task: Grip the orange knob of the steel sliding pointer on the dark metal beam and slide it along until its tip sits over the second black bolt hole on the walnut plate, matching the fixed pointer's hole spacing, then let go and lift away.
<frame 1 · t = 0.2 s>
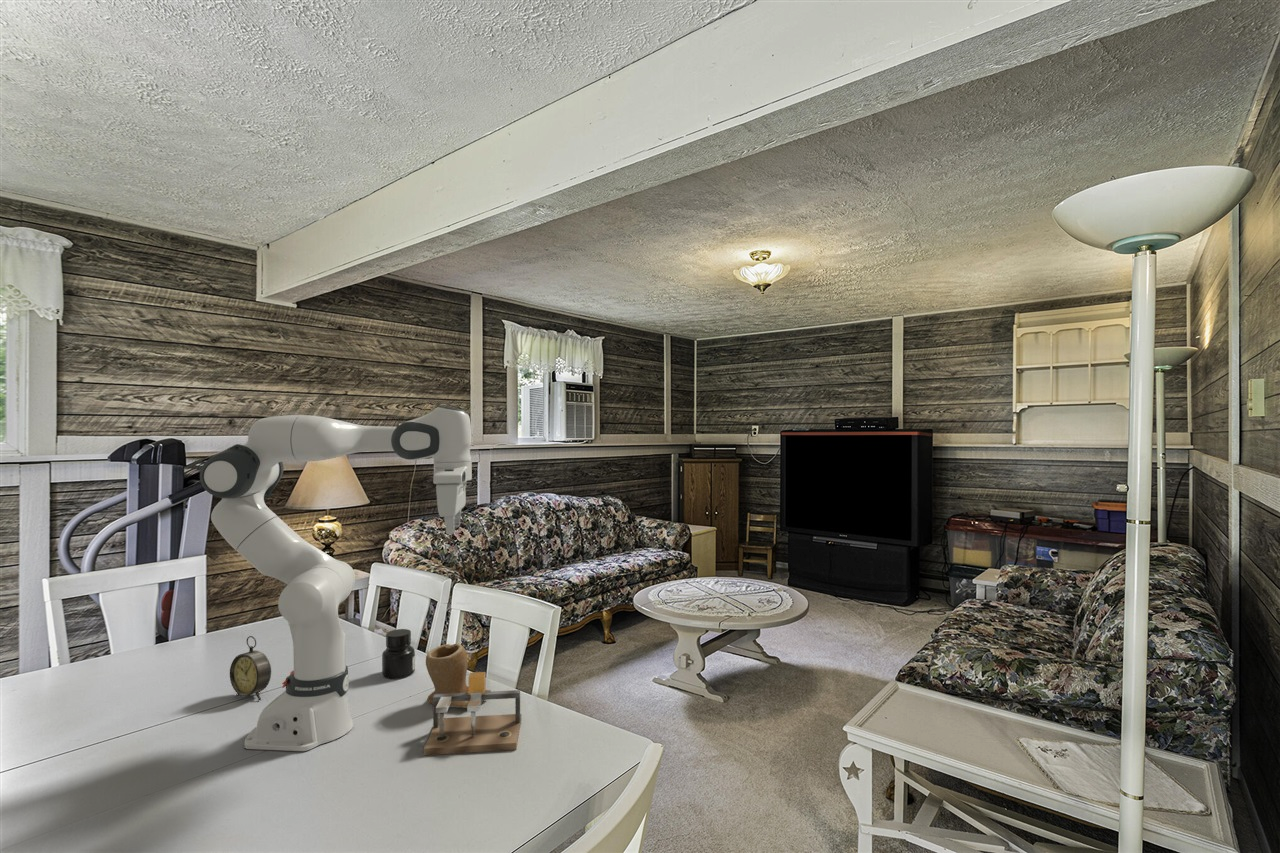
hand: (453, 530, 149), 47 cm above the table, tool pointing down, fingers open, 8 cm apart
sliding pointer: (475, 703, 144), point 8 cm above the table, slide at 0.0 cm
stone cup: (454, 704, 160), on the table
hole plate: (475, 736, 143), on the table
ink bottle: (398, 674, 180), on the table
alarm clock: (252, 697, 165), on the table
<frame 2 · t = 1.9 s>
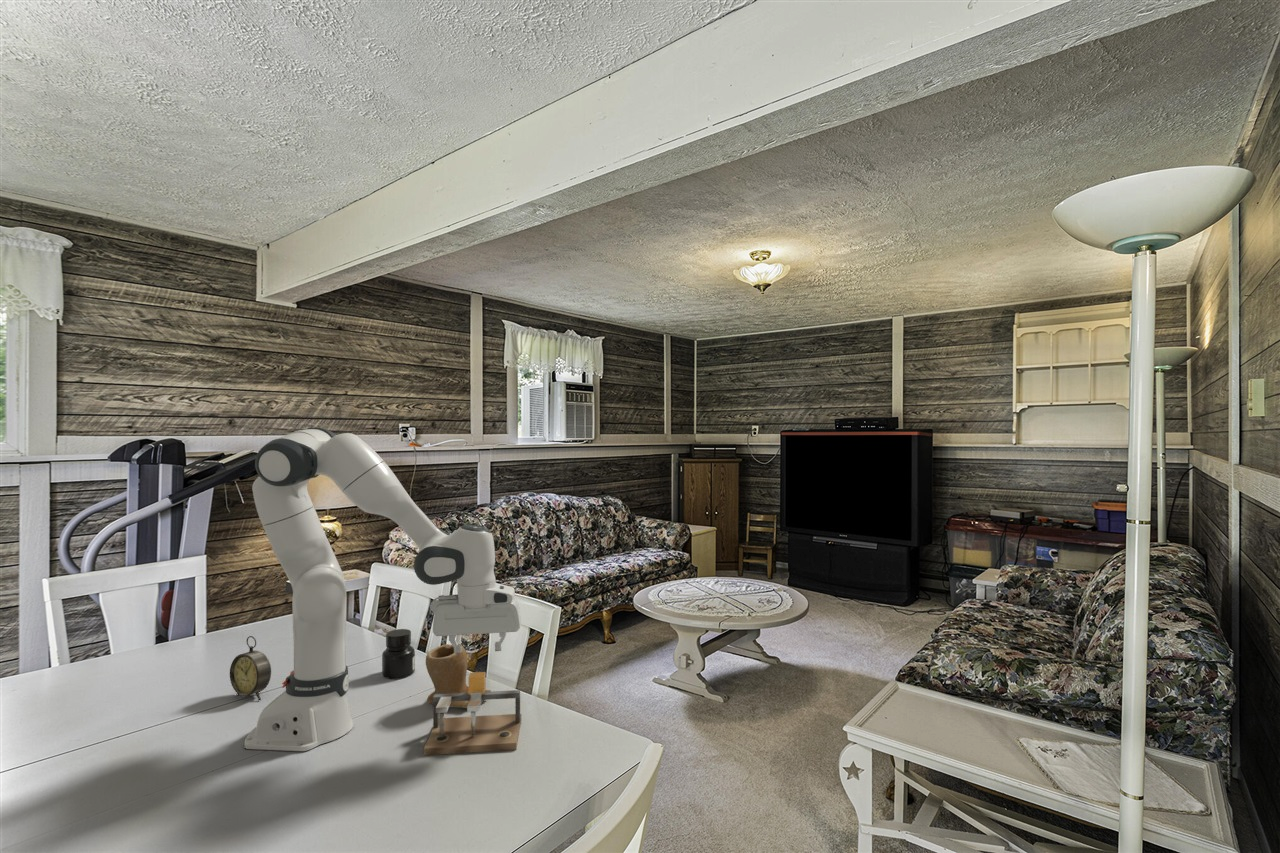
hand: (478, 651, 146), 19 cm above the table, tool pointing down, fingers open, 8 cm apart
nothing on the table moved.
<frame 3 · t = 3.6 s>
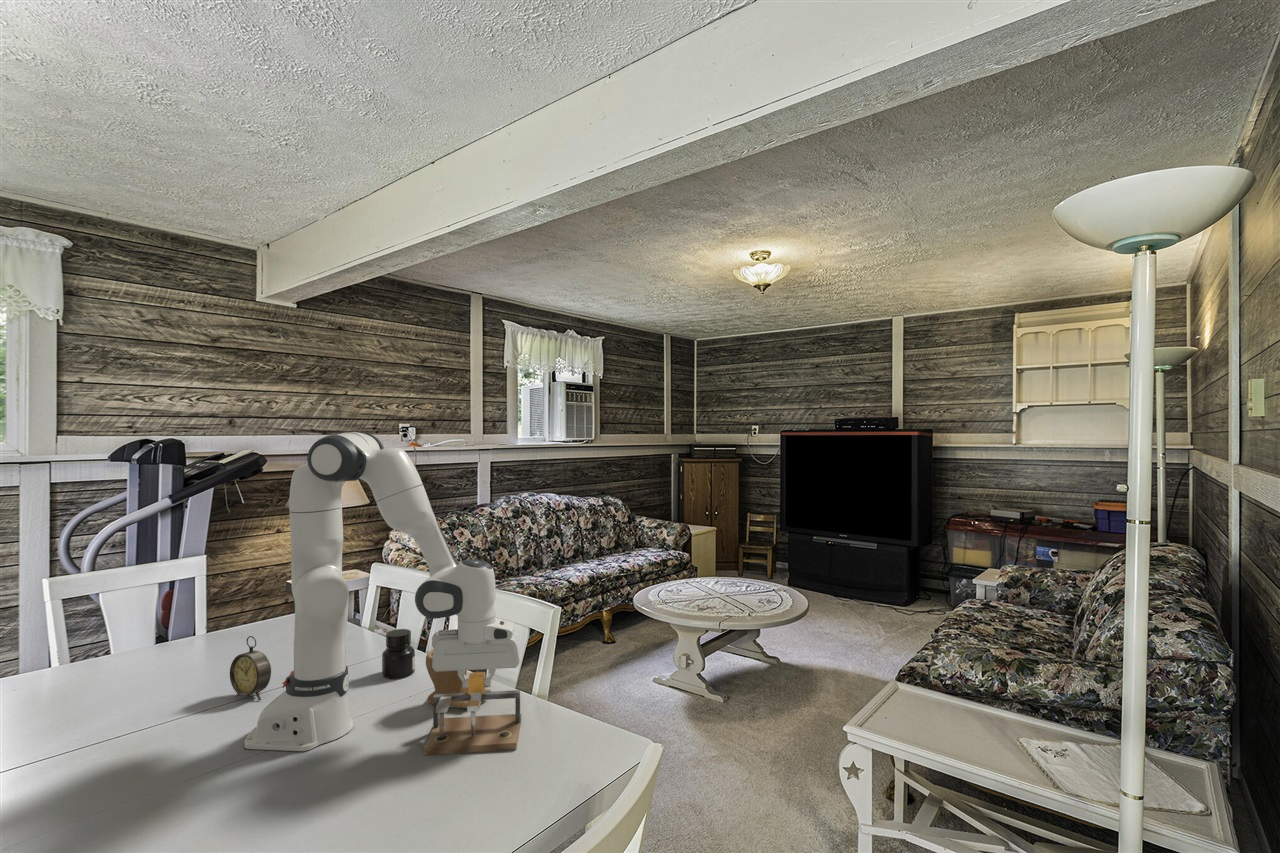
hand: (477, 686, 146), 10 cm above the table, tool pointing down, fingers closed on sliding pointer, 3 cm apart
sliding pointer: (475, 703, 144), point 8 cm above the table, slide at 0.0 cm, touching gripper
everything else where it was.
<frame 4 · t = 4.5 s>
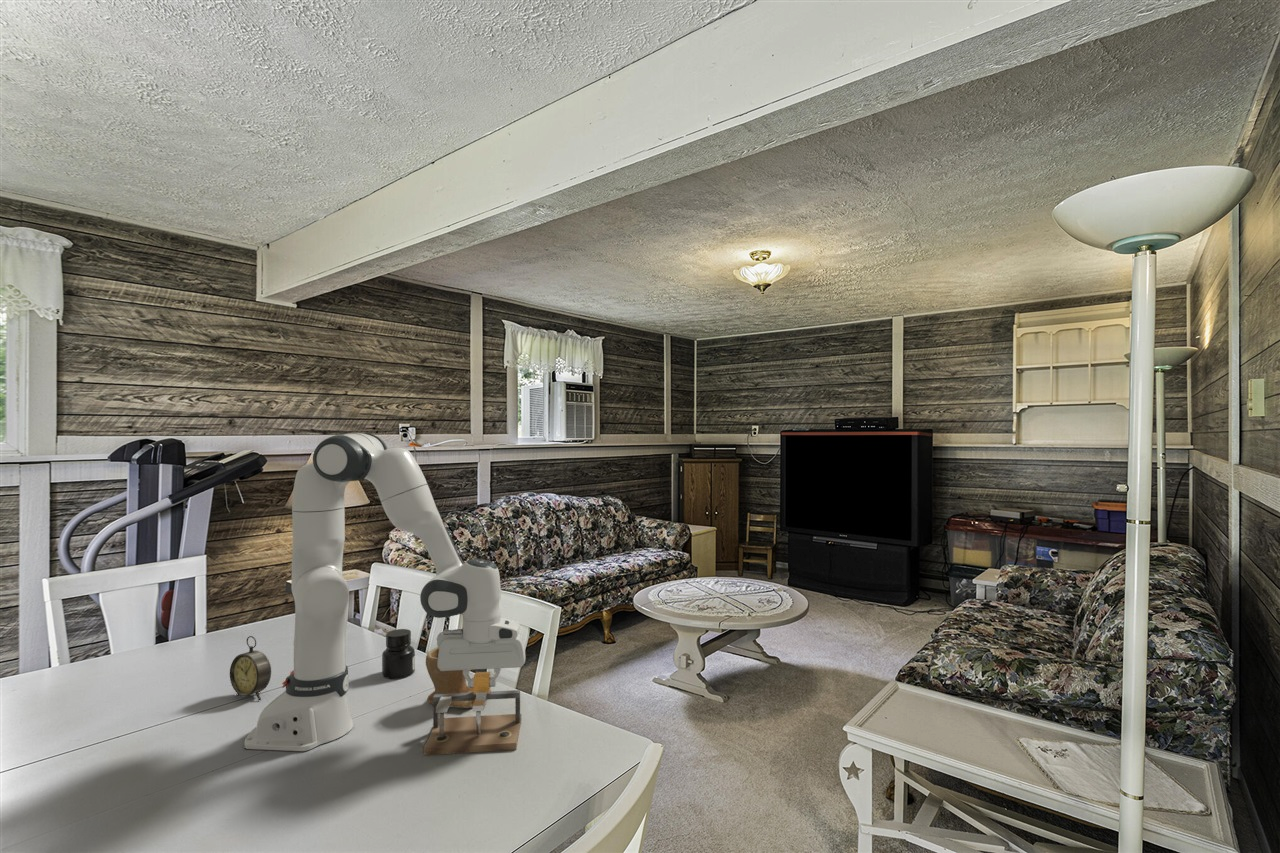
hand: (482, 686, 146), 10 cm above the table, tool pointing down, fingers closed on sliding pointer, 3 cm apart
sliding pointer: (480, 702, 144), point 8 cm above the table, slide at 1.2 cm, touching gripper
everything else where it was.
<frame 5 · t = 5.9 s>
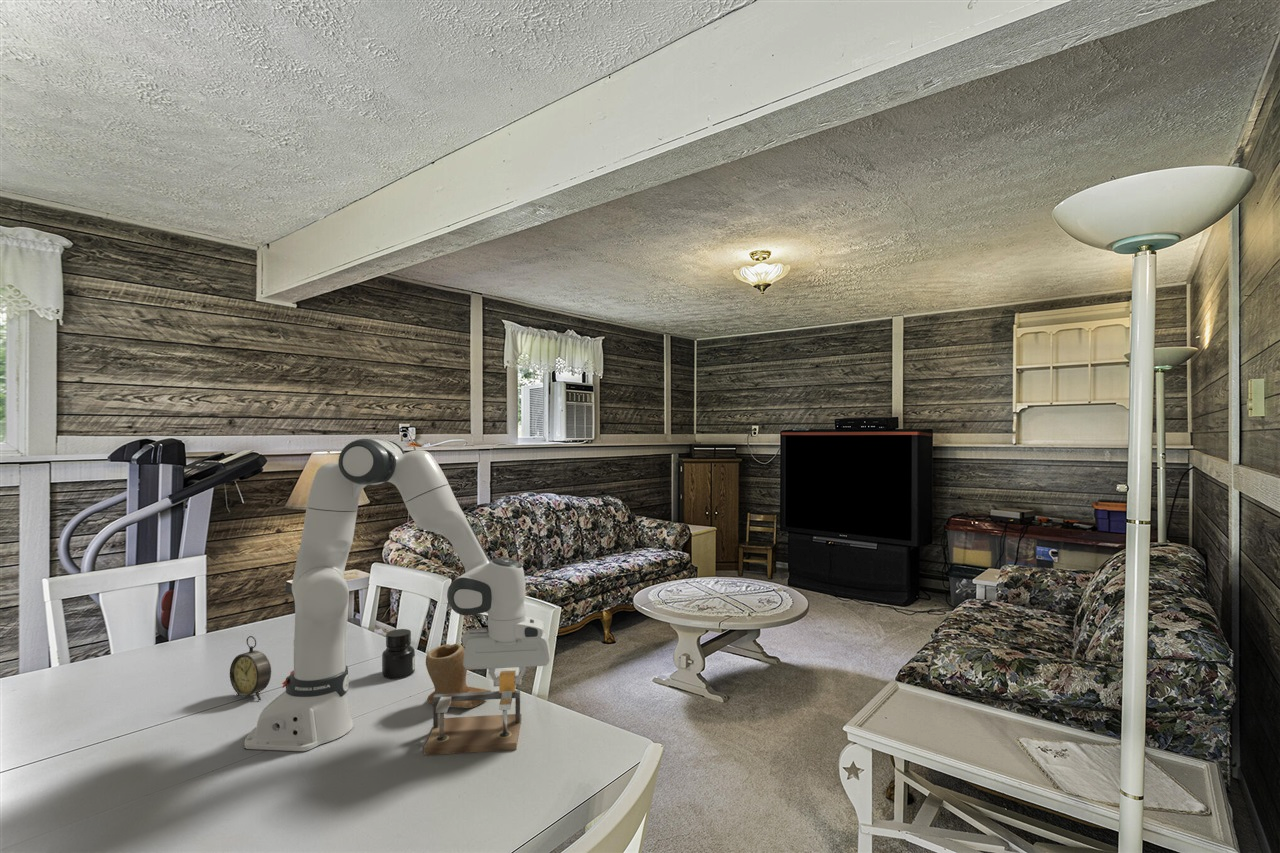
hand: (507, 684, 147), 10 cm above the table, tool pointing down, fingers closed on sliding pointer, 3 cm apart
sliding pointer: (506, 701, 145), point 8 cm above the table, slide at 7.1 cm, touching gripper
everything else where it was.
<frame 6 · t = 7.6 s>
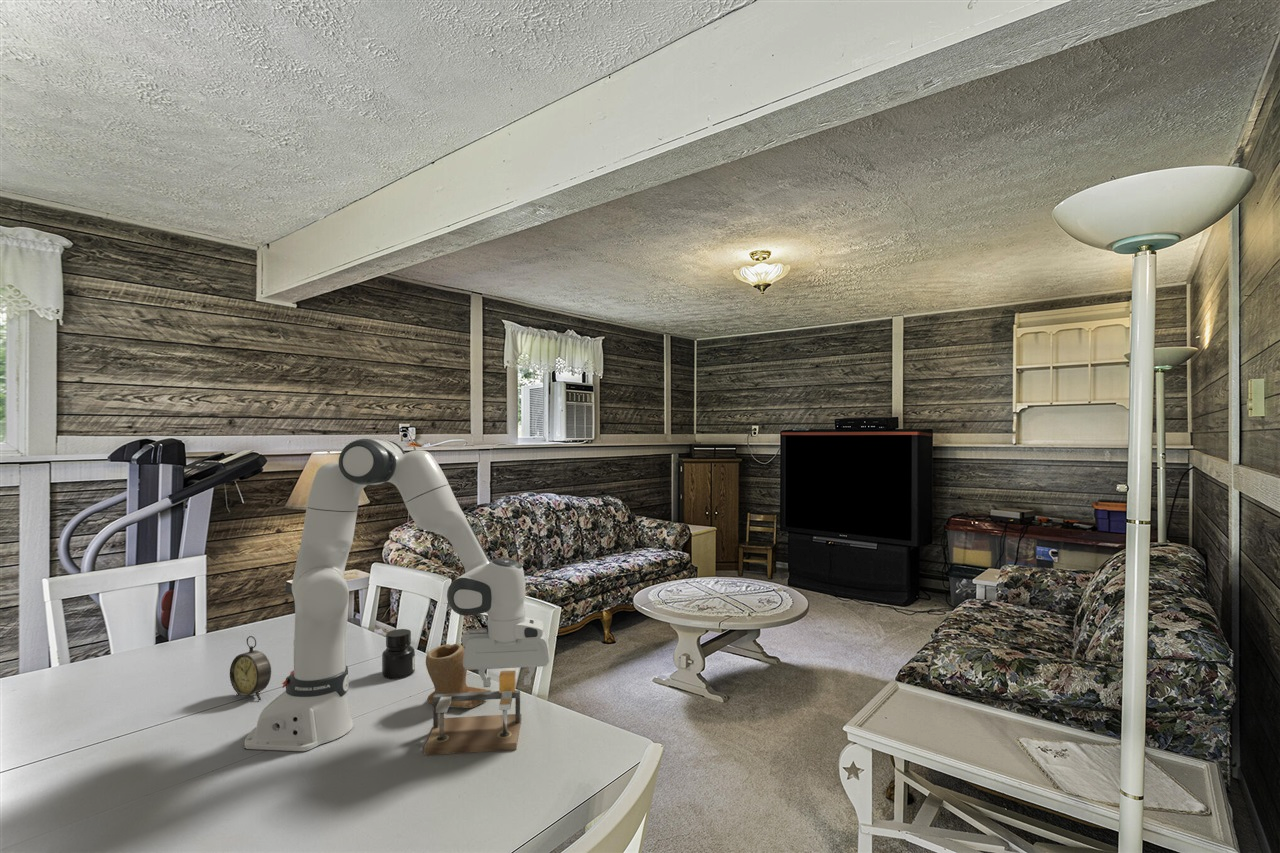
hand: (507, 685, 147), 10 cm above the table, tool pointing down, fingers open, 8 cm apart
sliding pointer: (506, 701, 145), point 8 cm above the table, slide at 7.1 cm
everything else where it was.
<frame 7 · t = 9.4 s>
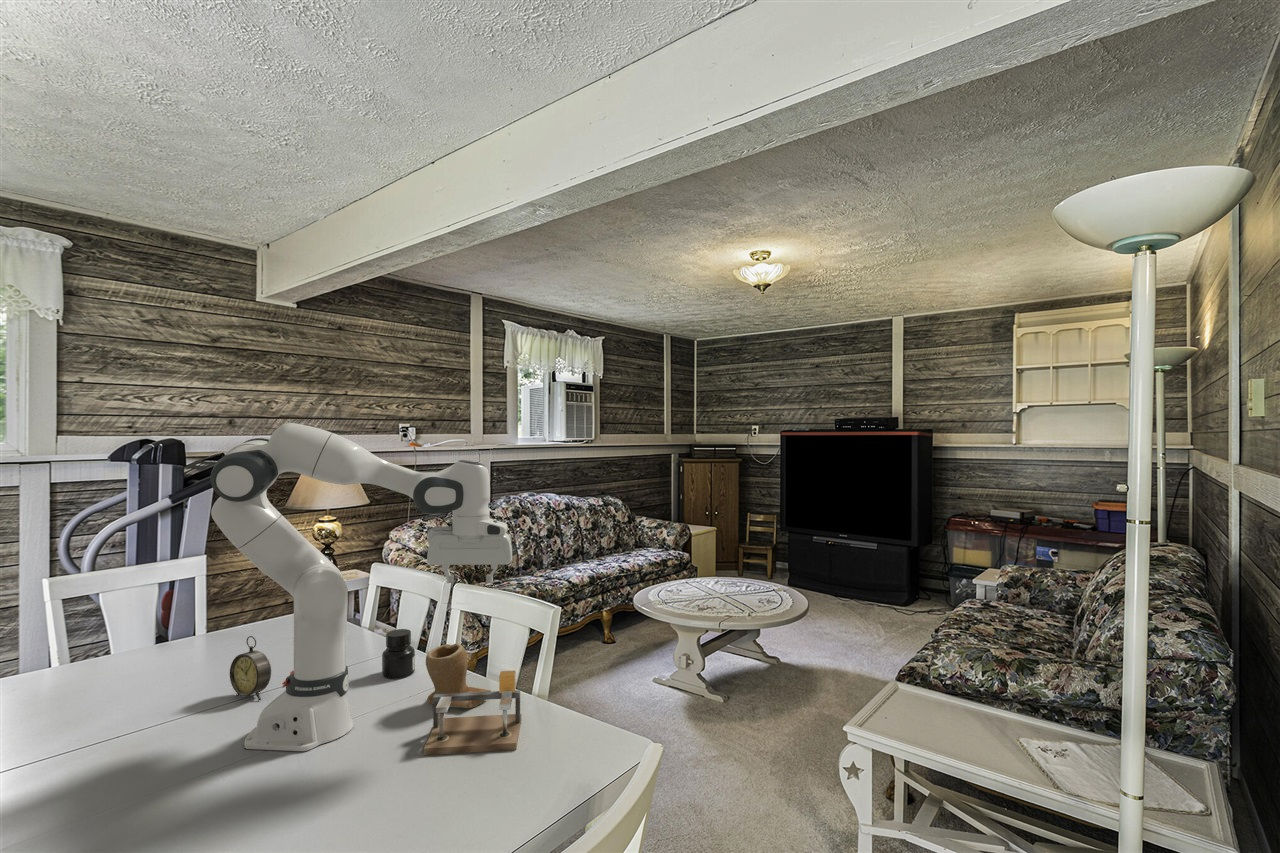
hand: (469, 582, 152), 34 cm above the table, tool pointing down, fingers open, 8 cm apart
nothing on the table moved.
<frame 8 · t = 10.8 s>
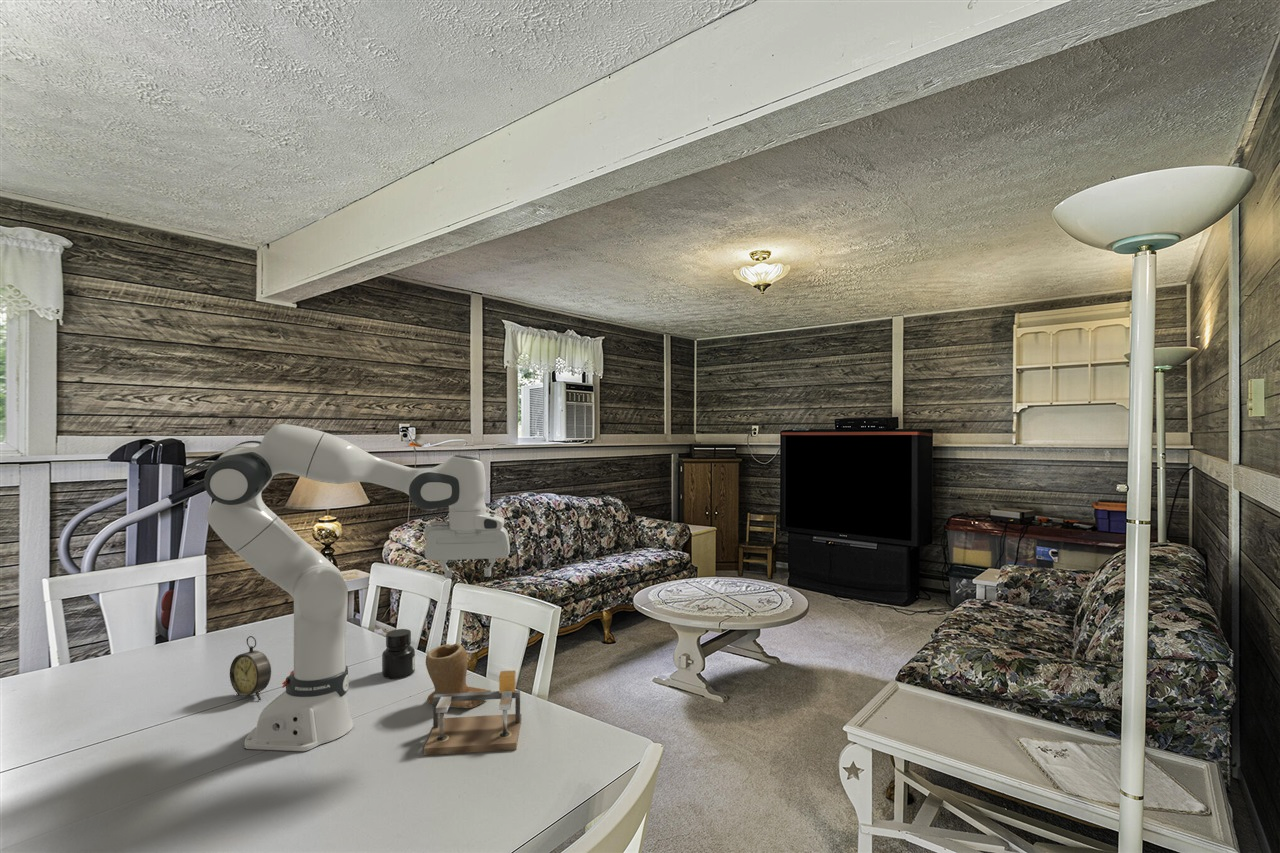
hand: (468, 576, 152), 35 cm above the table, tool pointing down, fingers open, 8 cm apart
nothing on the table moved.
at the end: sliding pointer slide at 7.1 cm; the gripper is holding nothing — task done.
